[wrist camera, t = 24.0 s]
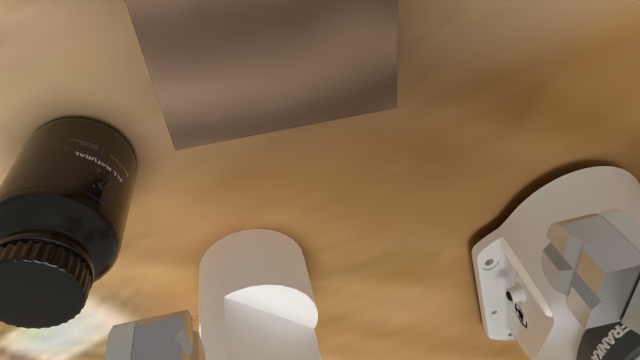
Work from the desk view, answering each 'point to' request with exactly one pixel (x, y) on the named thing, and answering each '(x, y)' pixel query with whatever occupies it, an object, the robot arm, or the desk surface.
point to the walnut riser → (265, 63)
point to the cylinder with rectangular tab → (256, 299)
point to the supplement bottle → (62, 220)
